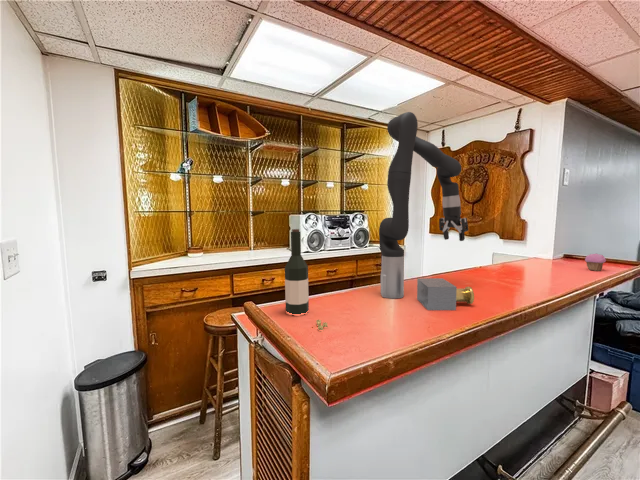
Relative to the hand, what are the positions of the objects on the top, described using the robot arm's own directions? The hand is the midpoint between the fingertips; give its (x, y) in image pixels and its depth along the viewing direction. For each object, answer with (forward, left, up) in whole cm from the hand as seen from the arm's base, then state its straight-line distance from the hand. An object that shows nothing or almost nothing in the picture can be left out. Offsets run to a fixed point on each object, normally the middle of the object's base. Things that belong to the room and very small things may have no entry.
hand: (454, 240), depth 139 cm
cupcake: (+95, +37, -22) cm, 105 cm away
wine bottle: (-70, -39, -22) cm, 83 cm away
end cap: (-11, -29, -22) cm, 38 cm away
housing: (-18, -29, -22) cm, 40 cm away
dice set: (-61, -53, -23) cm, 83 cm away
